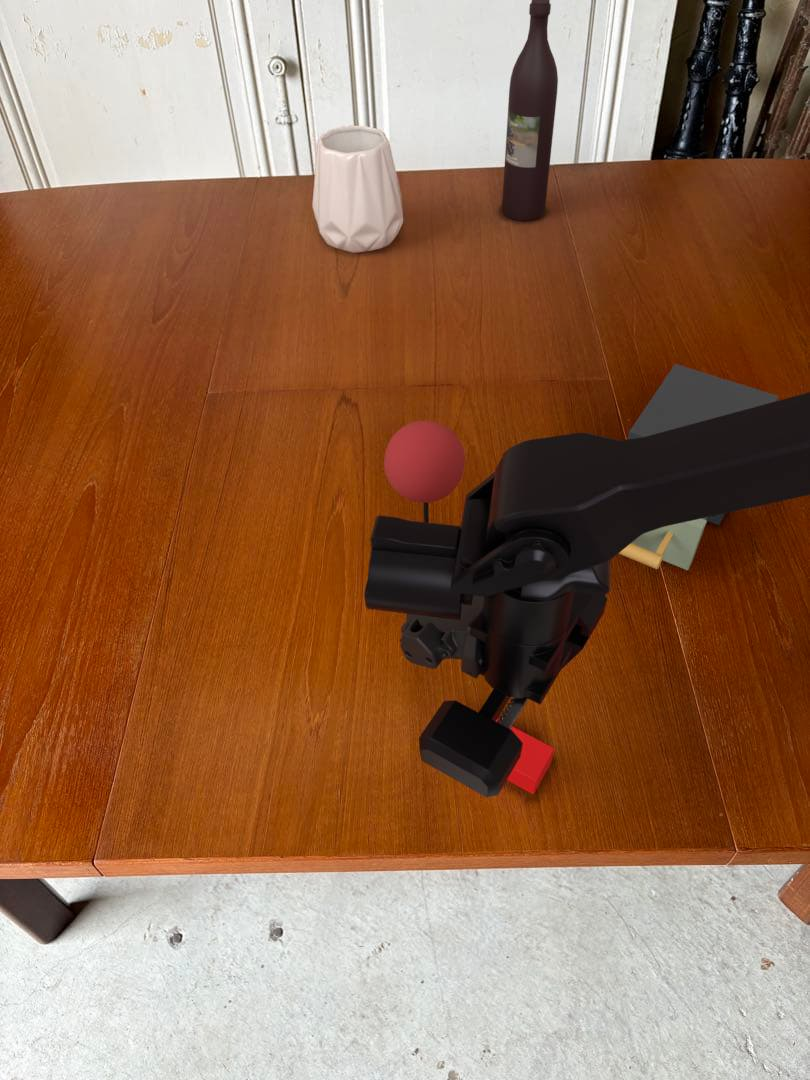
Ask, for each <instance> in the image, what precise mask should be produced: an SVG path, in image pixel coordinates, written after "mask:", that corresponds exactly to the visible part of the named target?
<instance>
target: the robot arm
mask: <svg viewBox="0 0 810 1080" xmlns="http://www.w3.org/2000/svg"><path fill="white" fill-rule="evenodd" d="M807 496H810V391H809V392H804V393H800V394H797V395H794V396H790V397H786V398H783V399H779V400H777V401H775V402H771V403H768V404H764V405H760V406H757V407H753V408H749V409H745V410H742V411H738V412H734V413H731V414H727V415H723V416H720V417H716V418H712V419H709V420H705V421H701V422H698V423H694V424H690V425H686V426H683V427H679V428H675V429H672V430H668V431H664V432H661V433H657V434H653V435H650V436H646V437H642V438H635V439H628V438H627V439H621V440H620V439H615V438H610V437H606V436H601V435H597V434H593V433H588V432H573V433H569V434H568V433H567V434H561V435H554V436H546V437H540V438H533V439H528V440H523V441H521V442H519V443H517V444H515V445H512V446H510V447H509V448H507V450H505V451H504V452H503V453H502V457H501V458H500V460H499V461H498V463H497V465H496V467H495V470H494V472H493V473H491V474H490V475H489V476H488V477H487V478H485V479H484V480H483V481H482V482H480V483H479V484H478V485H476V486H475V487H474V488H473V489H472V490H471V491H469V492H468V493H466V495H465V498H464V504H463V511H462V515H461V521H460V525H454V524H443V523H435V522H429V523H426V522H424V521H416V520H415V521H414V520H408V519H404V518H401V517H396V516H387V515H377V516H376V517H375V520H374V525H373V526H372V527H373V528H372V532H371V536H370V556H369V562H368V571H367V572H368V573H367V581H366V584H365V589H364V603H365V608H366V609H367V610H374V611H382V612H391V613H398V614H405V615H406V616H405V620H406V621H405V622H404V623H403V624H402V625H401V627H400V631H401V637H400V639H399V643H400V649H401V651H402V653H403V656H404V657H405V659H406V660H407V661H408V662H410V663H411V664H413V665H417V666H420V667H424V668H427V669H432V670H436V669H437V668H438V667H439V666H440V664H441V663H442V662H443V661H444V660H445V659H446V660H447V659H448V660H451V659H453V660H461V669H460V670H461V672H462V673H463V674H466V675H468V676H470V677H471V678H474V679H478V678H479V676H482V677H484V681H485V683H487V685H489V687H490V688H492V691H491V692H490V693H489V695H488V697H487V698H486V700H485V702H484V703H483V705H482V706H481V708H480V709H479V711H476V710H475V709H472V708H471V707H469V706H467V705H465V704H463V703H461V702H460V701H457V700H455V699H454V700H443V702H442V703H441V704H440V706H439V708H438V709H437V711H436V712H435V713H434V715H433V717H432V718H431V719H430V721H429V722H428V724H427V725H426V727H425V728H424V730H422V732H421V734H420V735H419V736H418V751H419V755H420V759H421V762H423V763H425V764H427V765H429V766H430V767H432V768H433V769H435V770H437V771H439V772H441V774H444V775H446V776H448V777H449V778H451V779H452V780H455V781H456V782H458V783H460V784H462V785H463V786H465V787H467V788H469V789H470V790H471V791H474V792H476V793H477V794H479V795H481V796H483V797H485V798H487V799H488V798H492V797H496V796H499V794H500V793H501V791H502V789H503V787H504V786H505V784H506V782H508V780H507V779H508V777H509V775H510V774H511V772H512V770H513V769H514V767H515V765H516V763H517V762H518V760H519V758H520V757H521V754H520V753H521V751H522V746H523V743H522V741H521V740H520V739H519V738H518V737H517V736H516V734H515V733H514V732H513V731H512V730H511V727H512V726H513V727H514V724H515V722H516V721H517V719H518V717H519V716H520V714H521V712H522V710H523V709H524V707H525V706H526V704H527V702H528V701H529V700H530V701H532V702H534V703H536V704H538V705H539V706H541V705H542V704H543V702H544V700H545V698H546V696H547V695H548V693H549V691H550V689H551V688H552V686H553V685H554V683H555V681H556V679H557V678H558V676H559V674H560V673H561V671H562V670H563V669H564V668H565V667H566V666H567V665H568V664H569V663H570V662H571V661H572V660H573V659H575V657H577V656H578V654H580V652H582V651H583V650H584V648H585V646H586V644H587V643H588V641H589V639H590V638H591V636H592V635H593V632H594V631H595V629H596V627H597V626H598V624H599V622H600V620H601V619H602V617H603V615H604V613H605V610H606V606H607V602H608V597H607V595H608V594H609V593H610V591H611V560H612V559H614V558H615V557H616V556H617V555H618V553H619V552H621V551H622V550H623V549H624V548H626V547H627V546H628V545H629V544H631V543H632V542H633V541H634V540H636V539H637V538H638V537H639V536H640V535H642V534H644V533H647V532H650V531H653V530H655V529H658V528H661V527H665V526H669V525H674V524H678V523H683V522H687V521H692V520H697V519H701V518H706V517H710V516H715V515H720V514H724V513H725V514H729V513H734V512H737V511H743V510H747V509H752V508H756V507H760V506H761V507H762V506H765V505H770V504H774V503H775V504H776V503H779V502H783V501H789V500H792V499H797V498H803V497H807ZM725 514H724V515H725ZM504 710H505V711H504ZM501 714H502V715H501ZM497 719H499V720H498V721H497V722H496V720H497Z"/></svg>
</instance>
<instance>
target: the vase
mask: <svg viewBox="0 0 810 1080" xmlns="http://www.w3.org/2000/svg"><path fill="white" fill-rule="evenodd" d="M315 145H316V146H315V160H314V161H315V162H314V163H315V164H314V182H313V193H312V203H311V204H312V205H311V206H312V211H313V215H314V219H315V221H316V224H317V228H318V233H319V234H320V235H321V238H322V239H323V241H324V242H325V243H326V244H327V245H328V246H330V247H332V248H334V249H337V250H341V251H345V252H347V253H352V254H357V253H364V252H370V251H371V252H373V251H375V250H380V249H383V248H386V247H388V246H389V245H390V244H392V242H393V241H394V240H395V239H396V237H397V236H398V235H399V232H400V231H401V229H402V226H403V223H404V209H403V195H402V189H401V185H400V182H399V178H398V174H397V170H396V166H395V161H394V157H393V153H392V148H391V143H390V141H389V139H388V137H387V135H386V133H385V132H384V131H383V130H381V129H380V128H379V129H378V128H376V127H370V126H368V125H348V126H340V127H335V128H332V129H329V130H328V131H326V132H325V133H323V134H322V135H321V136H320V137H319V138H318V139H317V142H316V144H315Z"/></svg>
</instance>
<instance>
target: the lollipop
mask: <svg viewBox="0 0 810 1080" xmlns="http://www.w3.org/2000/svg"><path fill="white" fill-rule="evenodd" d="M383 458H384V460H383V466H384V467H383V468H384V472H385V476H386V479H387V481H388V483H389V484H390V486H391V487H392V489H394V491H395V492H397V494H399V495H400V496H402V497H403V498H404V499H407V500H409V501H412V502H416V503H422V509H423V511H422V513H423V522H426V523H430V520H429V519H430V517H429V513H430V512H429V503H434V502H438V501H441V500H442V499H445V498H447V496H449V495H451V493H453V492H454V490H455V489H456V488H457V487H458V485H459V483H460V482H461V480H462V478H463V474H464V471H465V467H466V455H465V450H464V446H463V444H462V442H461V440H460V438H459V437H458V435H457V434H456V433H455V432H454V431H453V430H452V429H450V428H449V427H447V426H446V425H444V424H442V423H440V422H437V421H433V420H417V421H413V422H409V423H408V424H406V425H404V426H402V427H401V428H399V429H398V430H397V431H396V432H395V433H394V434H393V435H392V437H391V438H390V440H389V442H388V444H387V446H386V449H385V453H384V457H383Z"/></svg>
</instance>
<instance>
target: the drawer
mask: <svg viewBox="0 0 810 1080" xmlns="http://www.w3.org/2000/svg"><path fill="white" fill-rule="evenodd" d="M706 519H707V517H706V518H701V519H697V520H692V521H687V522H683V523H678V524H674V525H669V526H665V527H661V528H658V529H655V530H653V531H650V532H647V533H644V534H642V535H640V536H639V537H638V538H637V539H636V540H634V541H633V542H632V543H631V544H629V545H628V546H627V547H626V548H624V549H623V550H622V551H621V552H619V553H618V554H619V555H621V556H623V557H626V558H628V559H631V560H633V561H636V562H638V563H639V564H643V565H645V566H647V567H650V568H653V569H654V570H658V569H659V568H660V566H661V564H662V562H666V563H668V564H670V565H673V566H676V567H677V568H680V569H683V570H685V571H689V569H690V567H691V566H692V562H693V561H694V558H695V556H696V552H697V549H698V547H699V544H700V542H701V538H702V536H703V534H704V530H705V528H706V525H707V522H708V521H707V520H706ZM618 554H617V555H618Z"/></svg>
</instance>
